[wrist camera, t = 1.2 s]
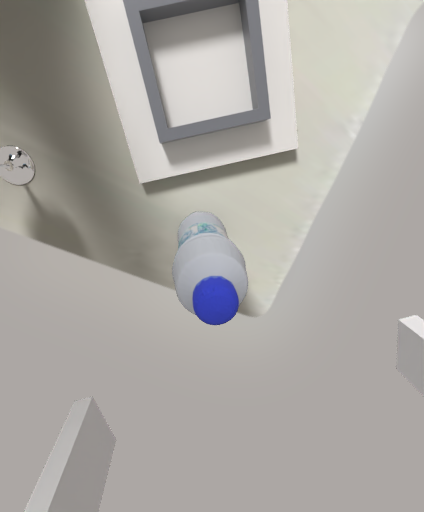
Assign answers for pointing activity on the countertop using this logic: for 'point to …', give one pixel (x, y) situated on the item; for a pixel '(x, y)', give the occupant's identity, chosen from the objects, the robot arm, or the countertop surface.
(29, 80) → the countertop surface
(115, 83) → the dock
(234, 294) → the bottle
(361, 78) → the countertop surface
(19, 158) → the wineglass
